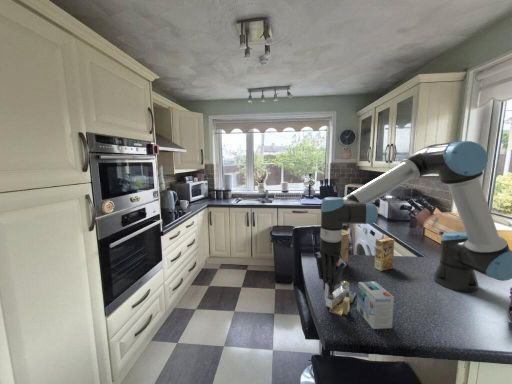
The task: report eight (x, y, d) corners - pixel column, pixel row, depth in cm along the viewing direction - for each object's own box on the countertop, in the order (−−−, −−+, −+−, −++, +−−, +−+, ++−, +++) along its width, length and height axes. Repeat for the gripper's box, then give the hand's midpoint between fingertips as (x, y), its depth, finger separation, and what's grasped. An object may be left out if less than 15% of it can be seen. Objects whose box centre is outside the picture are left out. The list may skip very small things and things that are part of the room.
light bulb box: (356, 309, 84) (357, 281, 83) (373, 308, 85) (375, 280, 83) (373, 329, 73) (375, 298, 72) (393, 328, 74) (395, 297, 73)
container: (320, 265, 122) (320, 232, 120) (327, 257, 132) (327, 227, 130) (344, 271, 115) (346, 236, 113) (350, 262, 125) (351, 230, 123)
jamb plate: (355, 294, 93) (355, 292, 93) (351, 303, 88) (351, 300, 88) (338, 289, 97) (338, 287, 97) (333, 297, 92) (333, 295, 92)
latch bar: (342, 290, 95) (343, 279, 94) (350, 293, 92) (350, 281, 92) (324, 304, 85) (325, 292, 84) (332, 308, 82) (333, 296, 82)
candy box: (381, 271, 115) (382, 241, 113) (373, 267, 119) (375, 239, 117) (393, 268, 118) (395, 239, 116) (385, 265, 122) (387, 237, 120)
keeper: (352, 304, 87) (352, 291, 87) (346, 317, 79) (346, 304, 79) (336, 299, 90) (336, 287, 90) (328, 311, 83) (329, 298, 82)
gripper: (310, 236, 87) (308, 295, 90) (340, 246, 77) (337, 311, 80) (322, 233, 92) (320, 288, 94) (352, 241, 82) (349, 303, 84)
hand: (328, 299), depth 87 cm, fingers closed
